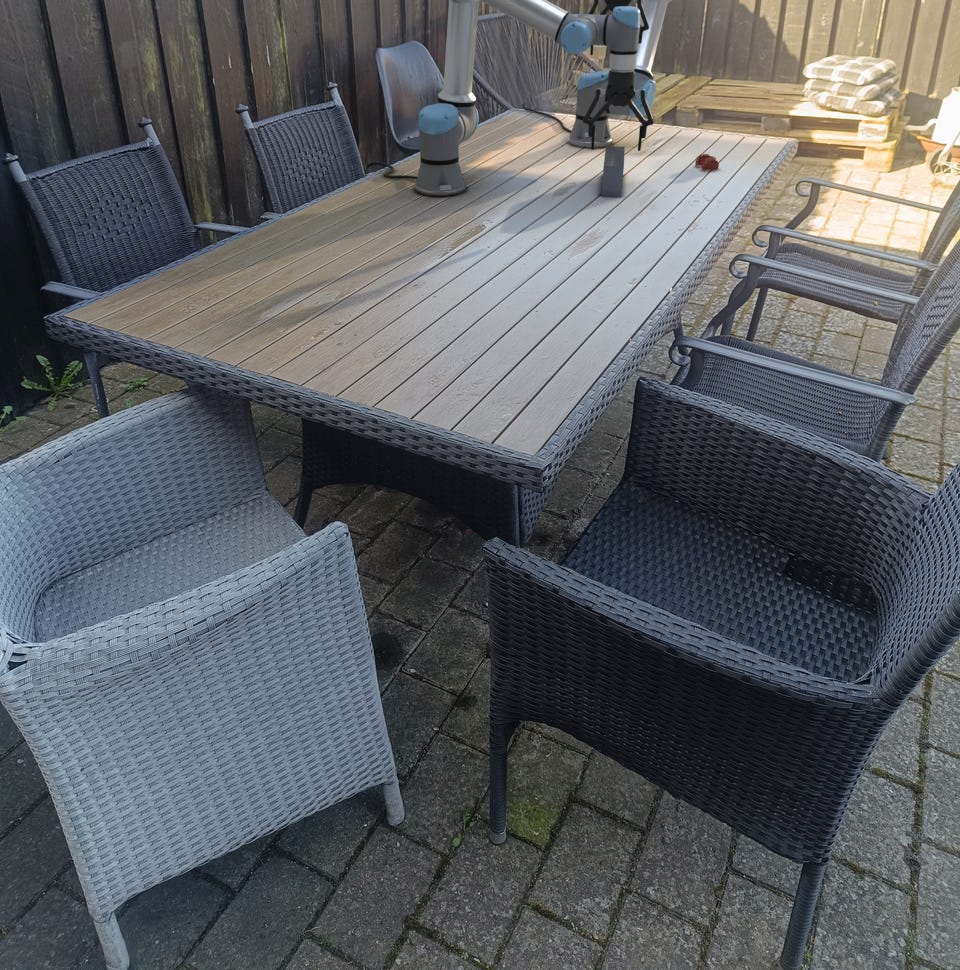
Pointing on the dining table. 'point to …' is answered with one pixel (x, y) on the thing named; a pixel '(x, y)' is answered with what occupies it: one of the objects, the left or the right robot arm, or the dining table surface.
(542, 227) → the dining table surface
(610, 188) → the bar
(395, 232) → the dining table surface
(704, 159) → the dental model
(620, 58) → the left robot arm
